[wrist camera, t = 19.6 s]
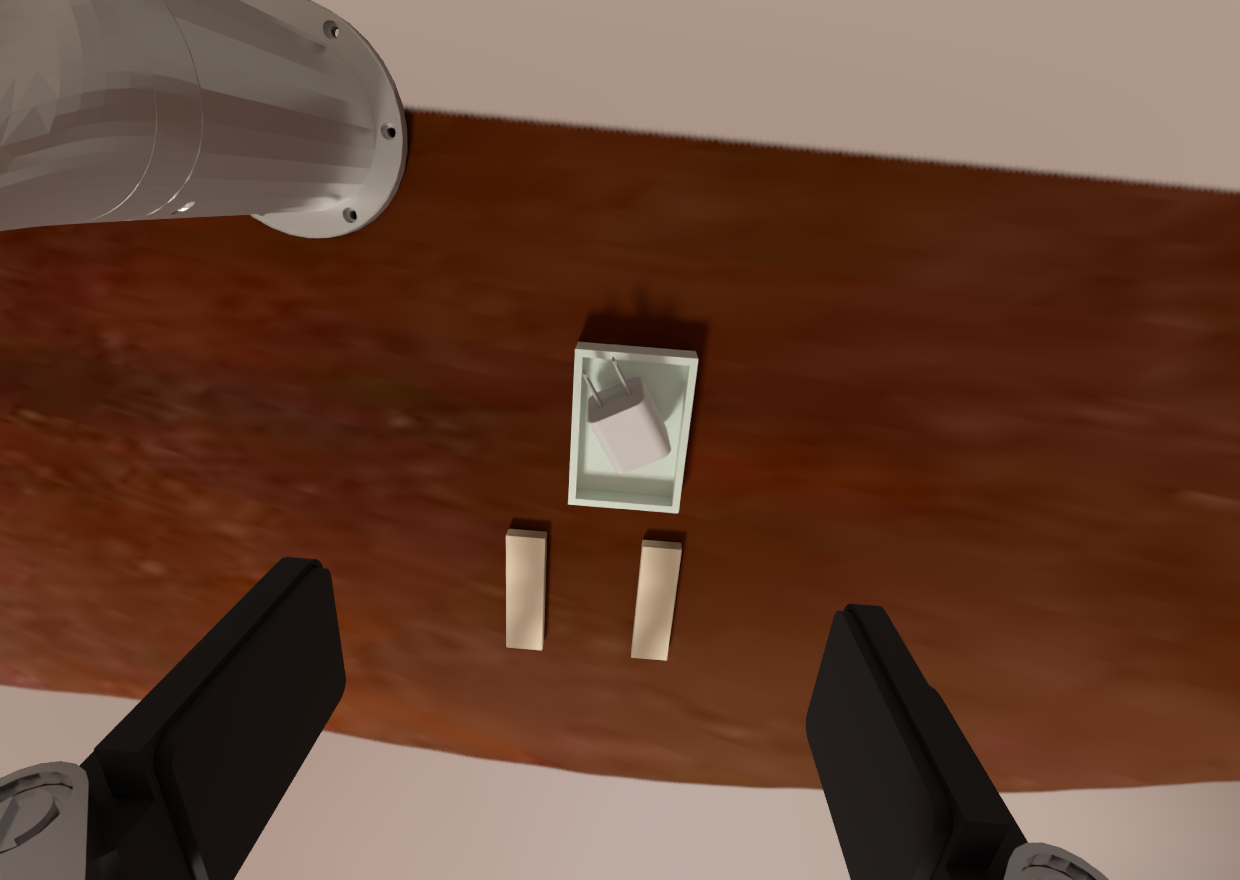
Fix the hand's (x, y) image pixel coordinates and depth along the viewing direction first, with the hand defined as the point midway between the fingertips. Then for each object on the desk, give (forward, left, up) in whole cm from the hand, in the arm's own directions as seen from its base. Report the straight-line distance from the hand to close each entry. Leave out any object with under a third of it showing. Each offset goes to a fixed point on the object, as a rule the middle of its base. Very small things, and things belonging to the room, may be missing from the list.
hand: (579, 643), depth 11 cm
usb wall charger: (0, -5, -29) cm, 30 cm away
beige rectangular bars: (-1, -23, -30) cm, 38 cm away
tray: (+1, -8, -30) cm, 31 cm away
